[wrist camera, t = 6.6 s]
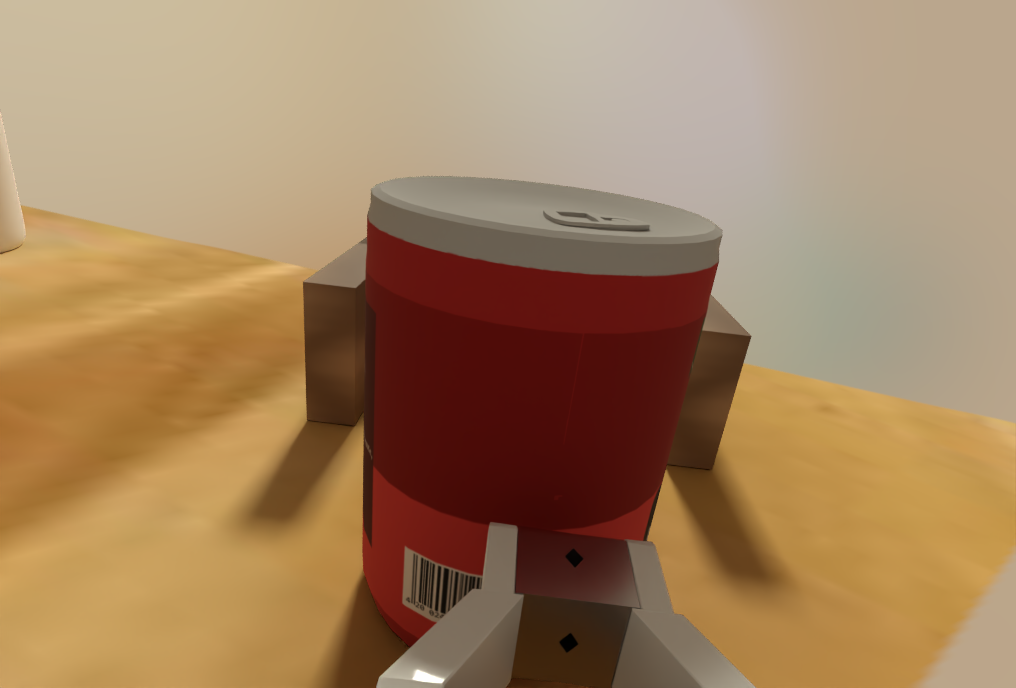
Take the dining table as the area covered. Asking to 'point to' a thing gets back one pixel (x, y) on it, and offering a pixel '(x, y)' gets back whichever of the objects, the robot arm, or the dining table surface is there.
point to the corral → (341, 360)
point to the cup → (9, 201)
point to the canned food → (517, 372)
